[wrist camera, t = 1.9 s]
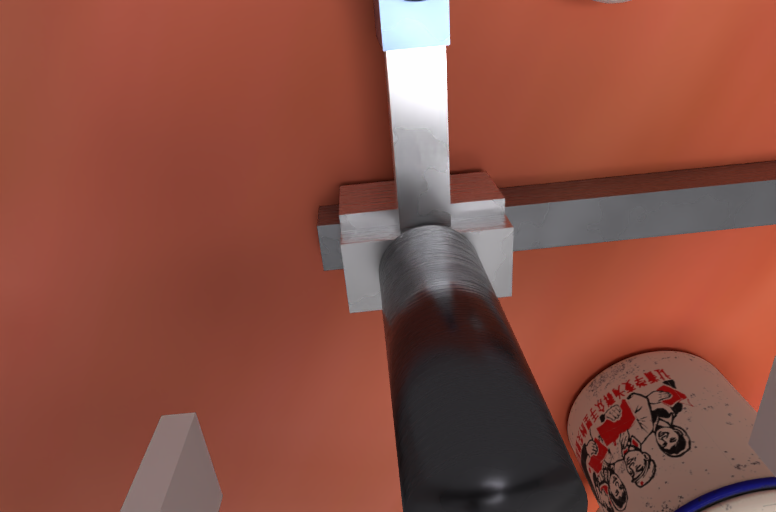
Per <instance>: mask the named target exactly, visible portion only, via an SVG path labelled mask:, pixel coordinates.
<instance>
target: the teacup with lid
mask: <svg viewBox="0 0 776 512" xmlns="http://www.w3.org/2000/svg"><path fill="white" fill-rule="evenodd" d="M756 417H757V412H756V411H755V410H754V409H753V408H752V406H751V405H750V404H749V403H748V402H747V401H746V400H745V399H744V398H743V397H742V396H741V395H740V394H739V392H738V391H737V390H736V389H735V388H734V387H733V386H732V385H731V384H730V383H729V382H728V381H727V379H726V378H725V377H724V376H723V375H722V374H721V373H720V372H719V371H718V370H717V369H716V368H715V367H714V366H713V365H712V364H710V363H709V362H707V361H706V360H704V359H702V358H700V357H698V356H695V355H692V354H689V353H685V352H678V351H655V352H648V353H643V354H639V355H635V356H633V357H630V358H627V359H624V360H622V361H620V362H618V363H616V364H614V365H612V366H610V367H609V368H607V369H605V370H604V371H602V372H601V373H600V374H598V375H597V376H596V377H595V378H593V379H592V380H591V381H590V382H589V383H588V384H587V385H586V386H585V388H584V389H583V390H582V391H581V393H580V394H579V395H578V397H577V399H576V400H575V402H574V404H573V406H572V408H571V411H570V414H569V418H568V438H569V441H570V444H571V447H572V449H573V451H574V453H575V455H576V457H577V460H578V462H579V464H580V466H581V468H582V470H583V472H584V474H585V477H586V479H587V481H588V483H589V485H590V487H591V489H592V491H593V494H594V496H595V498H596V500H597V502H598V504H599V506H600V507H599V508H598V510H597V511H596V512H776V477H775V476H774V475H773V473H772V472H771V471H770V470H769V469H768V467H767V466H766V465H765V464H764V463H763V461H762V460H761V459H760V458H759V456H758V455H757V454H756V453H755V452H754V450H753V449H752V448H751V447H750V446H749V444H748V442H749V439H750V436H751V433H752V429H753V426H754V423H755V420H756Z"/></svg>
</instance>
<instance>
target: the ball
mask: <svg viewBox="0 0 776 512" xmlns="http://www.w3.org/2000/svg"><path fill="white" fill-rule="evenodd" d="M593 1H597V2H601V3H622V2H627V1H630V0H593Z"/></svg>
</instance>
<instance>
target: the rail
mask: <svg viewBox="0 0 776 512" xmlns="http://www.w3.org/2000/svg"><path fill="white" fill-rule="evenodd" d="M499 190H500V192H501V193H502V195H503V196H504V198H505V215H506V216H507V218H508V219H509V221H510V223H511V224H512V226H513V227H514V230H513V251H521V250H530V249H540V248H550V247H559V246H569V245H579V244H589V243H598V242H608V241H618V240H627V239H637V238H647V237H657V236H666V235H676V234H686V233H696V232H705V231H715V230H725V229H734V228H744V227H754V226H764V225H773V224H776V161H768V162H758V163H748V164H738V165H728V166H718V167H708V168H698V169H688V170H678V171H668V172H658V173H648V174H639V175H629V176H619V177H609V178H599V179H589V180H579V181H569V182H559V183H549V184H539V185H529V186H519V187H509V188H499ZM317 230H318V236H319V242H320V249H321V255H322V262H323V268H324V271H326V270H336V269H344V267H343V259H342V252H341V227H340V220H339V205H330V206H320V207H319V213H318V222H317Z"/></svg>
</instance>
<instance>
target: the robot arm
mask: <svg viewBox="0 0 776 512" xmlns="http://www.w3.org/2000/svg"><path fill="white" fill-rule="evenodd" d="M748 444H749V446H750V447H751V448H752V449H753V450H754V452H755V453H756V454H757V455H758V456H759V458H760V459H761V460H762V461H763V463H764V464H765V465H766V466H767V467H768V469H769V470H770V471H771V472H772V473H773V475H774V476H775V477H776V356H775V358H774V362H773V365H772V368H771V371H770V375H769V378H768V381H767V384H766V387H765V391H764V394H763V397H762V400H761V404H760V407H759V410H758V413H757V417H756V420H755V423H754V426H753V429H752V433H751V436H750V439H749V442H748ZM222 497H223V495H222V492H221V489H220V486H219V483H218V479H217V476H216V473H215V470H214V467H213V464H212V461H211V458H210V455H209V452H208V449H207V446H206V443H205V440H204V436H203V433H202V430H201V427H200V424H199V421H198V418H197V415H196V412H194V413H183V414H173V415H163V416H161V418H160V420H159V423H158V425H157V427H156V430H155V432H154V434H153V436H152V439H151V441H150V443H149V446H148V448H147V450H146V453H145V455H144V457H143V459H142V462H141V464H140V466H139V469H138V471H137V473H136V476H135V478H134V480H133V483H132V485H131V487H130V489H129V492H128V494H127V496H126V499H125V501H124V503H123V506H122V508H121V510H120V512H219V509H220V505H221V501H222Z"/></svg>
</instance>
